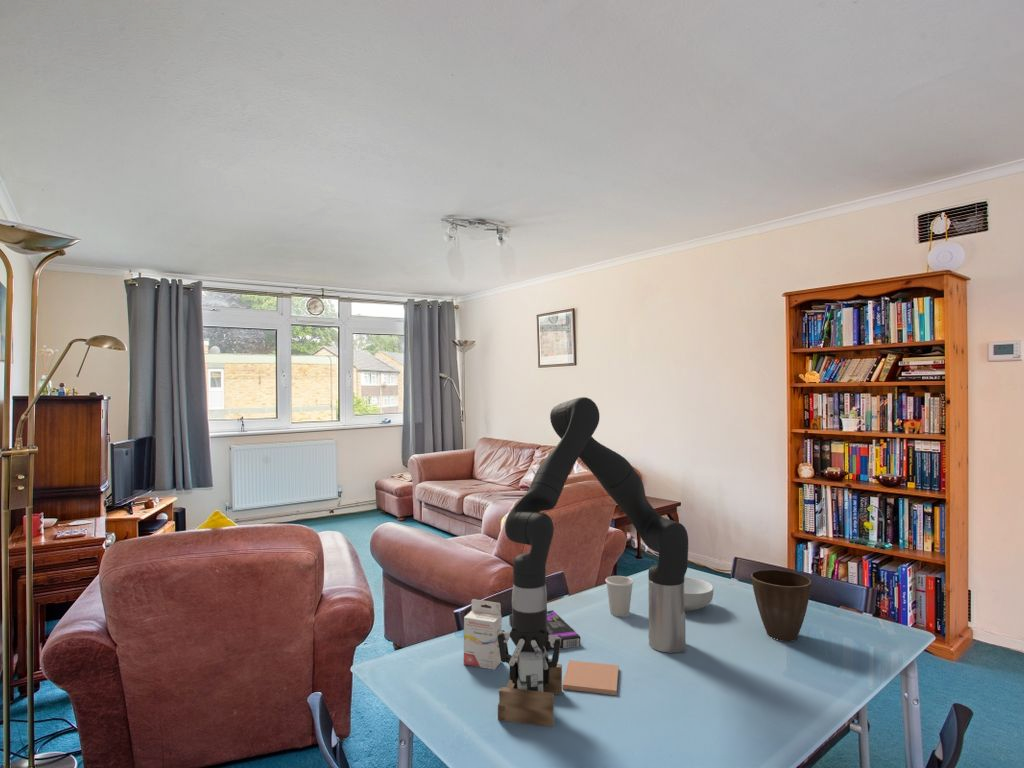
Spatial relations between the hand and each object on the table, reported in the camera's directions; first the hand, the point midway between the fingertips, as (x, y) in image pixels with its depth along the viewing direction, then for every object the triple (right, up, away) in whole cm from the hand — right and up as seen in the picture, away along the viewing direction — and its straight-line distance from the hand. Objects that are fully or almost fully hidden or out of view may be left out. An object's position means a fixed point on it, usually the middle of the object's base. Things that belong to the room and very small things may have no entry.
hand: (529, 683), depth 122 cm
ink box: (0, -5, 0) cm, 5 cm away
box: (+5, -6, +36) cm, 36 cm away
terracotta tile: (+15, -5, +11) cm, 19 cm away
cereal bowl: (+51, -6, +56) cm, 76 cm away
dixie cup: (+29, -6, +51) cm, 59 cm away
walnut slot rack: (0, -5, 0) cm, 5 cm away
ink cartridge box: (-11, -5, +19) cm, 22 cm away
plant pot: (+70, -5, +34) cm, 78 cm away
